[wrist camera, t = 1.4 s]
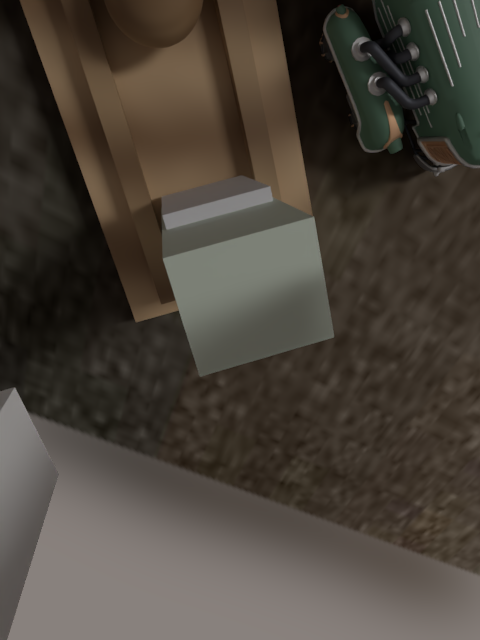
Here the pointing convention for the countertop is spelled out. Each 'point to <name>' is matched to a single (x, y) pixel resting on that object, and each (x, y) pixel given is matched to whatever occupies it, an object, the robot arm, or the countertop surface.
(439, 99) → the hoverbike
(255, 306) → the block
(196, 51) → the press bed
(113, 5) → the walnut
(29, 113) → the countertop surface
